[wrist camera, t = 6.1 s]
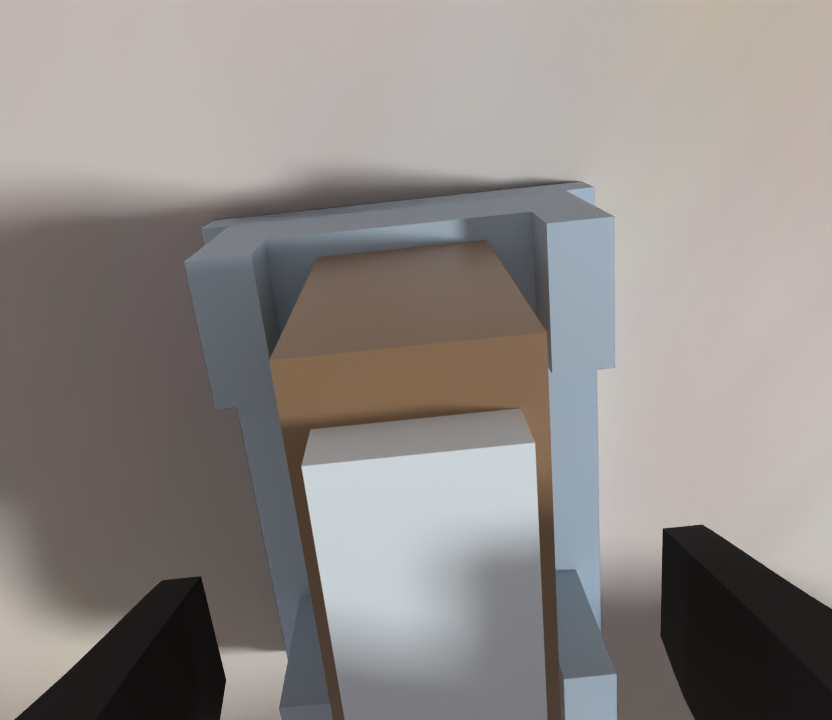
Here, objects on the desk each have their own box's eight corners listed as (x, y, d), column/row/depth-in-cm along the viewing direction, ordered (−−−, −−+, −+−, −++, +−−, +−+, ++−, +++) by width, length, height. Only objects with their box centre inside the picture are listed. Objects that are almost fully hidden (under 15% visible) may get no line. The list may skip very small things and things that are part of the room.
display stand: (590, 621, 18) (644, 765, 14) (297, 651, 18) (271, 803, 14) (581, 181, 15) (651, 212, 11) (212, 220, 15) (146, 266, 11)
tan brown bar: (516, 705, 15) (583, 1040, 10) (384, 719, 15) (380, 1059, 10) (486, 240, 12) (564, 360, 6) (318, 257, 12) (254, 390, 6)
